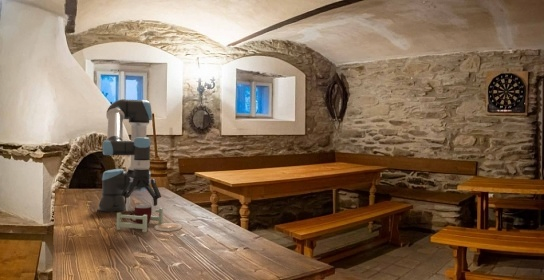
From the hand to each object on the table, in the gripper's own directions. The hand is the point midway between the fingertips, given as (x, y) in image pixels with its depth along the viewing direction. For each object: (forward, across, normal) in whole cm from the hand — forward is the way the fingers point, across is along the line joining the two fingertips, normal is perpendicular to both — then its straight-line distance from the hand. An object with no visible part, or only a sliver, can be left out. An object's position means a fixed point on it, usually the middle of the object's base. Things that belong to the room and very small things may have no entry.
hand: (140, 211), depth 202 cm
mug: (+8, 0, 0) cm, 8 cm away
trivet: (+8, +14, +2) cm, 16 cm away
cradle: (+8, 0, 0) cm, 8 cm away
